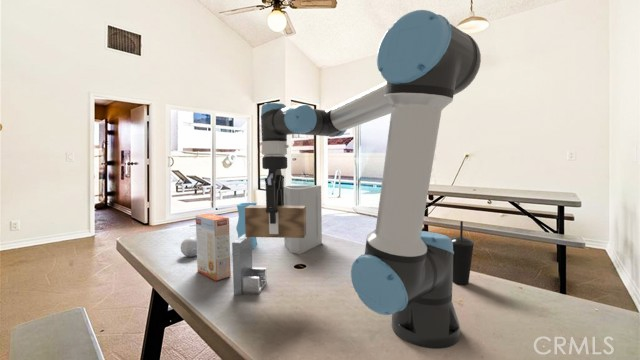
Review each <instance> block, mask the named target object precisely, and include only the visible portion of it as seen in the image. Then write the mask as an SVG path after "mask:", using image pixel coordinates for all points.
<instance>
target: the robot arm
mask: <svg viewBox="0 0 640 360" xmlns="http://www.w3.org/2000/svg"><path fill="white" fill-rule="evenodd" d="M380 40H381V41H380V43H379V46H378V48H377V51H376V52H377V53H376V66H377V69H378V72H380V74H381V77H382V78H383V79H384V80H385V82H383V83H380V84H378V85H376V86H374V87H372V88H370V89H369V90H366V91H364V92H362V93H360V94H357V95H356V96H354V97H351V98H349V99H347V100H345V101H343V102H341V103H339V104H337V105H334V106H333V107H331V108H329V109H317V108H316V109H315V108H313V107H311V106H310V105H309V104H306V103H304V104H294V105H291V106H288V107H287V106H286V104H284V103H281V102H266V103H264V104H262V105H261V112H260V115H261V116H260V121H261V122H260V124H261V125H260V127H261V155H263V156H262V158H261V159H262V160H261V161H262V162H261V163H262V169H263V170H268V172H267V173H268V175H267V176H266V177H265V178H264V183H265V184H264V185H265V205H266V213H269V234H279V223H278V212H277V206H284V186H285V175H283V174H282V170H287V168H288V157H287V156H286V155H287V154H288V148H289V147H290V145H289V144H288V142H287V141H288V139H287V138H288V135H289V136H291V135H303V136H320V137H331V138H335V137H341V136H343V135H344V134H345V132H347V131H348V130H349V129H352V128H355V127H357V126H360V125H363V124H365V123H368V122H370V121H371V122H372V121H373V120H377V119H380V118H381V117H384V116H387V115H390V119H389V127H388V135H387V142H386V151H385V157H384V165H383V171H382V173H383V174H382V180H381V186H380V188H381V189H380V194H379V195H380V196H379V203H378V209H377V216H376V217H377V218H376V224H375V225H376V226H375V229H374V230H373V231H371V232H369V233H368V234H367V236H366V241H365V242H366V243H365V248H364V254H360V255H359V256H357V258H356V259H355V260H354V261H353V262H352V266H351V269H350V279H351V283H352V286H353V289H354V292H355V293H356V294H357V296H358V298H359V299H360V300H361V302H362V303H363V304H364V305H365V307H367V308H368V309H369V310H371V311H372V312H374V313H376V314H378V315H381V316H382V315H383V316H390V315H391V327H392V330H393V332H394V333H395V334H396V335H397V336H398V337H399V338H400V339H402V340H404V341H406V342H408V343H409V344H412V345H415V346H416V347H417V346H418V347H420V348H426V349H431V350H432V349H437V350H438V349H440V350H441V349H446V348H450V347H453V346H454V345H456V344H457V343H458V342H459V341H460V337H461V327H460V321H459V319H458V315H457V312H456V309H455V306H454V303H453V254H454V251H453V242H452V240H451V239H450V238H451V237H449V236H447V235H445V234H441V233H436V232H432V231H425V230H423V225H424V219H425V212H426V206H427V201H428V200H427V199H428V194H429V189H430V182H431V178H432V177H431V176H432V171H433V163H434V158H435V151H436V146H437V140H438V133H439V130H440V129H439V128H440V122H441V117H442V111H443V110H444V109H445V108H446V107H447V106H449V105H450V104H451V103H453V100H454V96H455V95H457V94H459V93H461V92H462V91H464V90H465V89H467V88H468V87H469V86H470V85H471V84H472V82H473V81H474V80H475V79H476V76H477V74H478V73H479V71H480V67H481V60H482V57H481V51H480V47H479V45H478V43H477V42H476V40H475V39H474V38H473V37H472V36H471V35H469V34H468V33H466V32H464V31H463V30H461V29H459V28H458V27H456V25H455V26H454V25H453V24H452V23H450V21H449V20H448V18H446V17H445V16H443V15H442V14H437V13H435V12H434V11H431V10H427V9H417V10H413V11H410V12H407V13H406V14H404V15H402V16H401V17H399V18H398V19H397V20H395V21H394V23H393V24H392V25H391V27H390V28H388V29H387V30H386V32H385V33H384V35H383V37H382V38H381V39H380ZM271 207H272V208H271Z"/></svg>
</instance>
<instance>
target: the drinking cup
mask: <svg viewBox="0 0 640 360" xmlns="http://www.w3.org/2000/svg"><path fill="white" fill-rule="evenodd" d="M459 223H460V226H459V227H460V228H459V231H460V232H459V236H454V237H449V238H450V239H451V240H452V242H453V251H454V254H453V282H452V284H455V285H459V286H467V285H469V282H470V275H471V269H472V268H471V267H472V259H473V254H474V246H475V245H476V244H475V241H474V240H473V239H470V238H469V237H465V236H463V235H464V234H463V233H464V231H463V229H464V225H463V224H464V221H462V220H460V222H459Z"/></svg>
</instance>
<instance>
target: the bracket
mask: <svg viewBox="0 0 640 360" xmlns="http://www.w3.org/2000/svg"><path fill="white" fill-rule="evenodd" d="M231 249H232V250H231V251H232V254H231V255H232V278H233V280H232V281H233V283H232V284H233V296H242V295H260V293H261V292H262V290H263V289H264V287H265V286H266V284H267V283H268V282H267V279H268V278H267V267H253V248H252V237H246V235H245V234H244V235H242V236H241V237H239V238H238V237H237V239H235V240H233V241H232V242H231Z"/></svg>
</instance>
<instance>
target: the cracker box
mask: <svg viewBox="0 0 640 360" xmlns="http://www.w3.org/2000/svg"><path fill="white" fill-rule="evenodd" d="M195 230H196V231H195V236H196V237H195V238H196V239H197V255H196V262H197V272H198V273H200V274H203V275H204V276H206V277H208V278H210V279H211V280H214V281H215V282H217V281H221V280H223V279H227V278H230V277H231V276H232V275H231V274H232V273H231V247H230V245H231V244H230V243H231V240H230V239H231V238H230V218H229V217H226V216H221V215H218V214H213V213H204V214H197V215H195Z"/></svg>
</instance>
